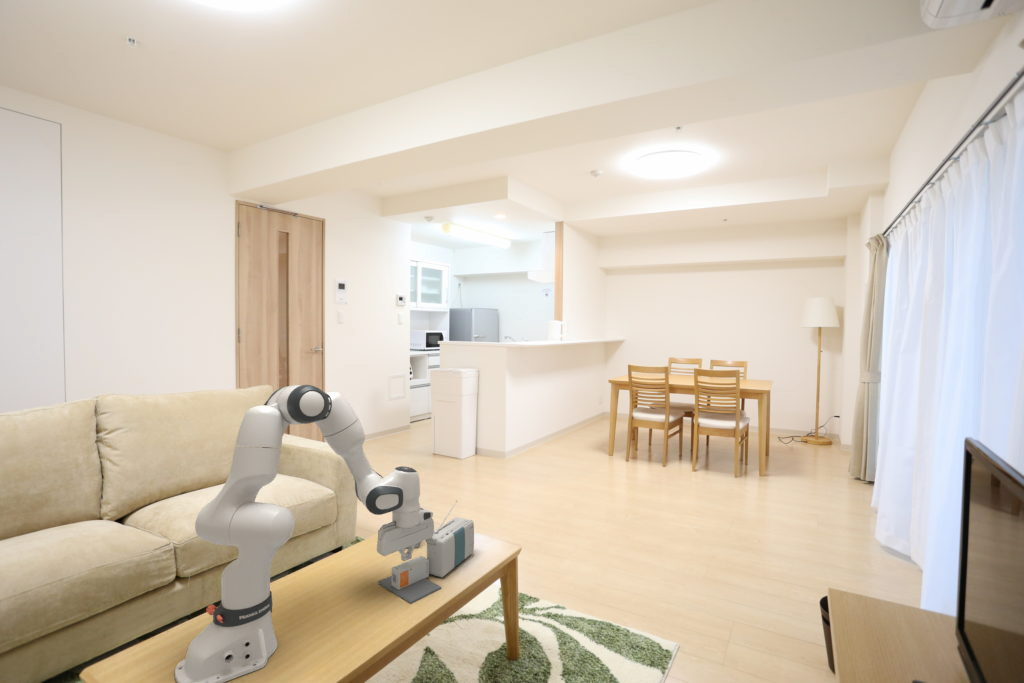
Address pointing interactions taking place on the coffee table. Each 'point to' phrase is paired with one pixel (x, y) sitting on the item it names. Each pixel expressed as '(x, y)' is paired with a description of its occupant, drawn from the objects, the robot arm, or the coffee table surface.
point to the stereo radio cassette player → (450, 545)
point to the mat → (411, 589)
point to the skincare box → (410, 572)
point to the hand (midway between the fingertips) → (406, 559)
